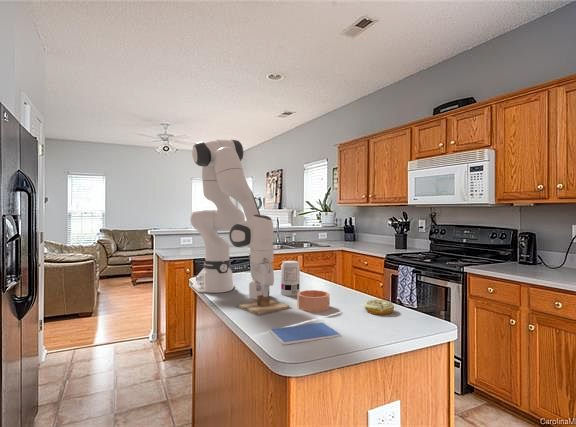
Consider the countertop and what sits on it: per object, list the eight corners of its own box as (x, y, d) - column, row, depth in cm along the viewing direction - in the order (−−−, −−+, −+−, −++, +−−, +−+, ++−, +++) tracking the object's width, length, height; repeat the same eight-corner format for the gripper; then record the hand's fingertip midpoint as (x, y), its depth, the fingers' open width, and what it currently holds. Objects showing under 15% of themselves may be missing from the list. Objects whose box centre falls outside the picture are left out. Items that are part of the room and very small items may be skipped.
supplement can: (277, 295, 156) (277, 261, 156) (289, 292, 162) (290, 259, 162) (290, 298, 151) (290, 263, 151) (303, 295, 157) (303, 261, 157)
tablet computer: (322, 325, 118) (322, 321, 117) (342, 338, 106) (342, 333, 106) (268, 333, 110) (268, 328, 110) (283, 347, 98) (283, 342, 98)
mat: (234, 307, 136) (234, 306, 136) (267, 301, 146) (267, 299, 146) (258, 317, 124) (258, 316, 124) (292, 309, 134) (292, 308, 134)
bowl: (291, 308, 136) (291, 293, 136) (313, 302, 144) (313, 288, 144) (312, 315, 127) (313, 299, 127) (335, 309, 134) (335, 294, 134)
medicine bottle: (265, 301, 146) (265, 272, 146) (248, 300, 148) (249, 271, 148) (269, 296, 153) (269, 269, 153) (253, 296, 155) (254, 268, 155)
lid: (238, 306, 136) (238, 295, 136) (267, 300, 145) (267, 290, 145) (259, 314, 125) (259, 302, 125) (289, 308, 134) (289, 296, 134)
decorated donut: (359, 312, 132) (359, 301, 132) (373, 306, 140) (373, 296, 140) (384, 317, 125) (384, 307, 125) (398, 311, 133) (398, 301, 133)
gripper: (278, 260, 125) (278, 298, 125) (262, 254, 144) (262, 288, 144) (261, 260, 123) (260, 300, 123) (247, 254, 142) (247, 289, 142)
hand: (261, 293), depth 134 cm, fingers open, 8 cm apart
